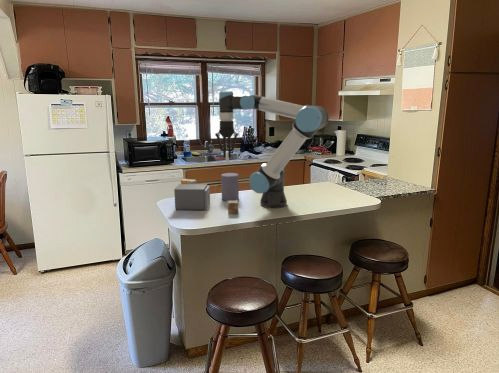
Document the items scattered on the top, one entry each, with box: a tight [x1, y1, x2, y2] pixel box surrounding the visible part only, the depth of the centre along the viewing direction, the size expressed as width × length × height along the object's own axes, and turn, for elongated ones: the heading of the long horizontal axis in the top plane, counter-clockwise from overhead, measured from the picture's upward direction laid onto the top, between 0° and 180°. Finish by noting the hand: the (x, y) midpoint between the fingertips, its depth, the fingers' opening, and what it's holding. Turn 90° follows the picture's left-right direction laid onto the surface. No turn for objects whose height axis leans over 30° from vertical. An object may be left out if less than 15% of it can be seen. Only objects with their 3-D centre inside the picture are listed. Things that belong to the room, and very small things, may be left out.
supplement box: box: [180, 178, 197, 184], centre depth 223 cm, size 8×5×13 cm, turn 70°
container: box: [220, 172, 240, 202], centre depth 228 cm, size 10×10×15 cm
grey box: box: [173, 183, 208, 212], centre depth 210 cm, size 16×12×12 cm
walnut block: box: [227, 199, 239, 215], centre depth 202 cm, size 5×5×6 cm
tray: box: [204, 185, 211, 211], centre depth 210 cm, size 16×12×11 cm
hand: (227, 163), depth 210 cm, fingers closed
